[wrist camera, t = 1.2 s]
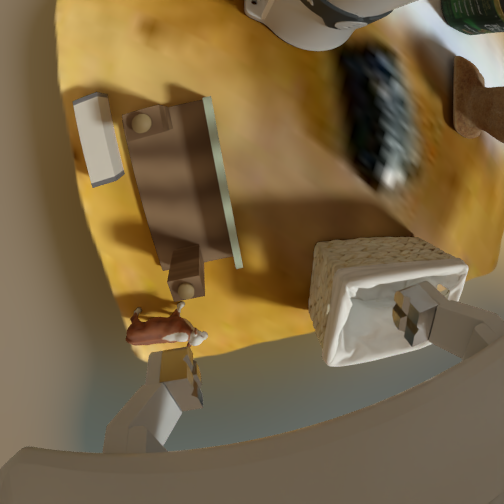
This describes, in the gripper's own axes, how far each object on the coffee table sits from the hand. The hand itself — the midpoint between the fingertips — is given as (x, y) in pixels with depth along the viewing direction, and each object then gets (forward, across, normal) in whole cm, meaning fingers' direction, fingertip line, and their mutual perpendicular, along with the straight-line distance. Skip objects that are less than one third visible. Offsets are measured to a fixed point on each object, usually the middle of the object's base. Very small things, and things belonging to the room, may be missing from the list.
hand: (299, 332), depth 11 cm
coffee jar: (+34, -48, -25) cm, 64 cm away
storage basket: (+34, -20, +23) cm, 45 cm away
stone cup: (+34, -46, -8) cm, 58 cm away
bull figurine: (+34, +15, +21) cm, 43 cm away
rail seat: (+34, +7, +1) cm, 34 cm away
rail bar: (+34, +16, -9) cm, 38 cm away
